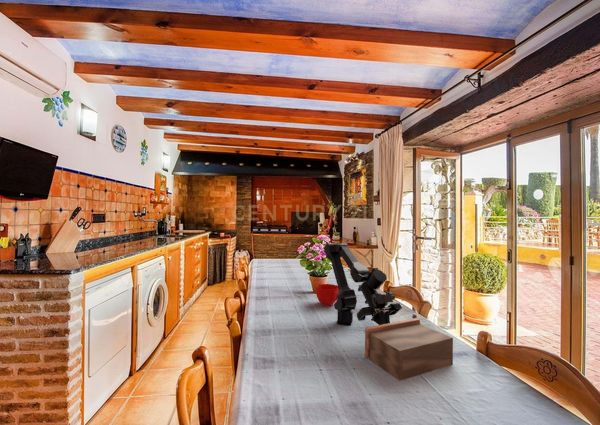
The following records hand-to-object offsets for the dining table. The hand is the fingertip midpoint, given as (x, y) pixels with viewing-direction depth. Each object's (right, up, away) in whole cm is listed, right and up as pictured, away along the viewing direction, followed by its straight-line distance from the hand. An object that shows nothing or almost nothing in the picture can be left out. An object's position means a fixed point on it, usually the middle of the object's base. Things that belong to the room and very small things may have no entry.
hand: (389, 332), depth 108 cm
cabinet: (+4, -6, -9) cm, 12 cm away
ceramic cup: (-18, -7, +53) cm, 57 cm away
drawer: (+3, -6, -7) cm, 10 cm away
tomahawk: (+23, -8, +27) cm, 37 cm away
